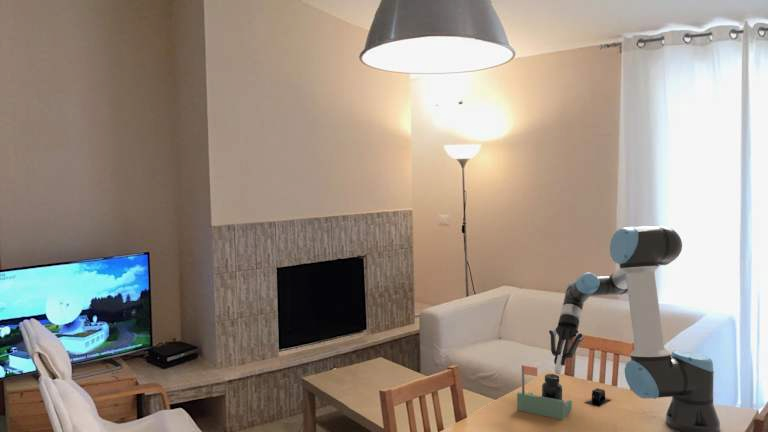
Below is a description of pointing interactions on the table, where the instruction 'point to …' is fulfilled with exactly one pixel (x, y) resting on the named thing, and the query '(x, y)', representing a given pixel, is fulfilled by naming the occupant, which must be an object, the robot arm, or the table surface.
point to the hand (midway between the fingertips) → (557, 372)
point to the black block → (598, 398)
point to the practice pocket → (540, 400)
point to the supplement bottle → (552, 387)
